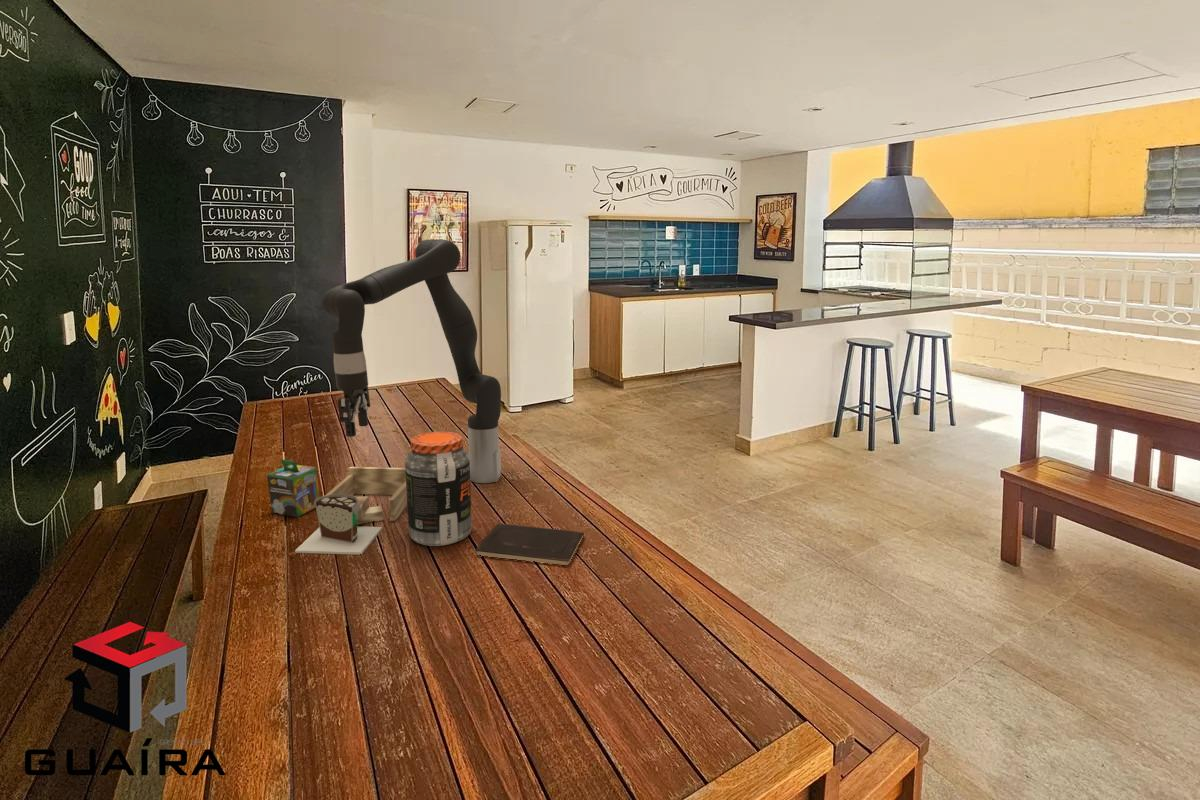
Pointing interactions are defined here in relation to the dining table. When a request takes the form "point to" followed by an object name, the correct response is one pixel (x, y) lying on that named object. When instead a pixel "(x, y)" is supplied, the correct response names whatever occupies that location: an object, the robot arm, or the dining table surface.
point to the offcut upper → (362, 505)
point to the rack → (376, 485)
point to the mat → (339, 543)
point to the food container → (338, 516)
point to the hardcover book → (530, 544)
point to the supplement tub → (438, 489)
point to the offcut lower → (372, 515)
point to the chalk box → (293, 489)
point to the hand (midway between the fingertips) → (357, 430)
